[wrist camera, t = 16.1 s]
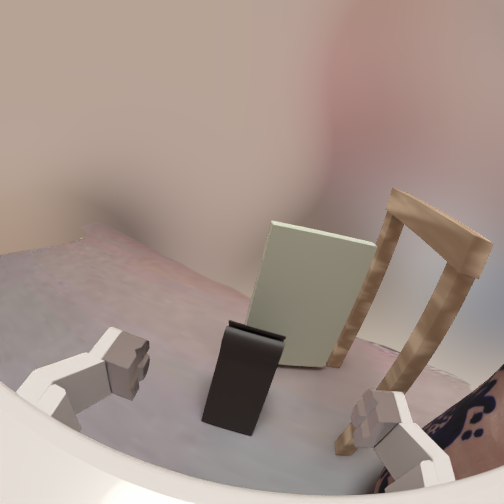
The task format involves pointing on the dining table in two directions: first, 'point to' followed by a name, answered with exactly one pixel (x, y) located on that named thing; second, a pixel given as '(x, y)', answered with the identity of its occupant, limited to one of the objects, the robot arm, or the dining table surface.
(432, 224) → the door frame
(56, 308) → the dining table surface
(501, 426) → the ceramic pitcher
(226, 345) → the phone stand
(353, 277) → the door
